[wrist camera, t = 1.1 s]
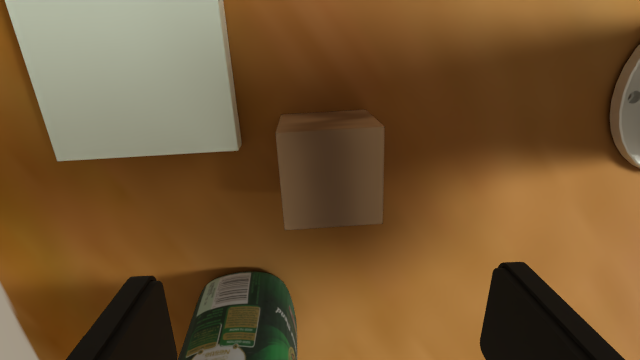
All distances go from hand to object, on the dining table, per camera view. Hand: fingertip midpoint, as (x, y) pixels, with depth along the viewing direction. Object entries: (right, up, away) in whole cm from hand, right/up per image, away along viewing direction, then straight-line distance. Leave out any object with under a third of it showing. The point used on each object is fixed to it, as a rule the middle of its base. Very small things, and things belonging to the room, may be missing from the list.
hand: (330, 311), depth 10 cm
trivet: (-12, +12, +13) cm, 21 cm away
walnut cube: (0, +6, +16) cm, 17 cm away
